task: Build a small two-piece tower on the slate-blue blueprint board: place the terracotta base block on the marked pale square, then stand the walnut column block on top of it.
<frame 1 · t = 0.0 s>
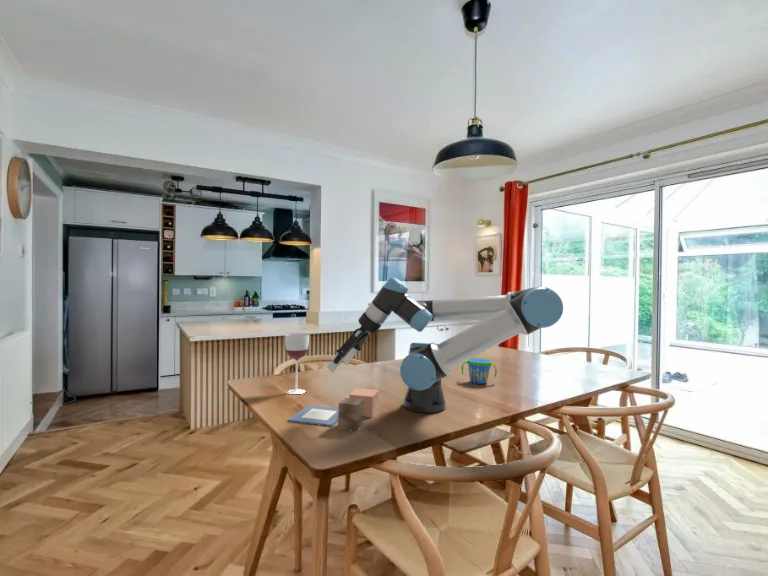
hand: (337, 365, 134), 15 cm above the table, tool tilted 35°, fingers open, 13 cm apart
walnut column: (350, 427, 118), on the table
wineglass: (296, 392, 154), on the table
blueprint board: (319, 416, 127), on the table
terracotta base: (364, 412, 132), on the table
snack cup: (478, 383, 176), on the table
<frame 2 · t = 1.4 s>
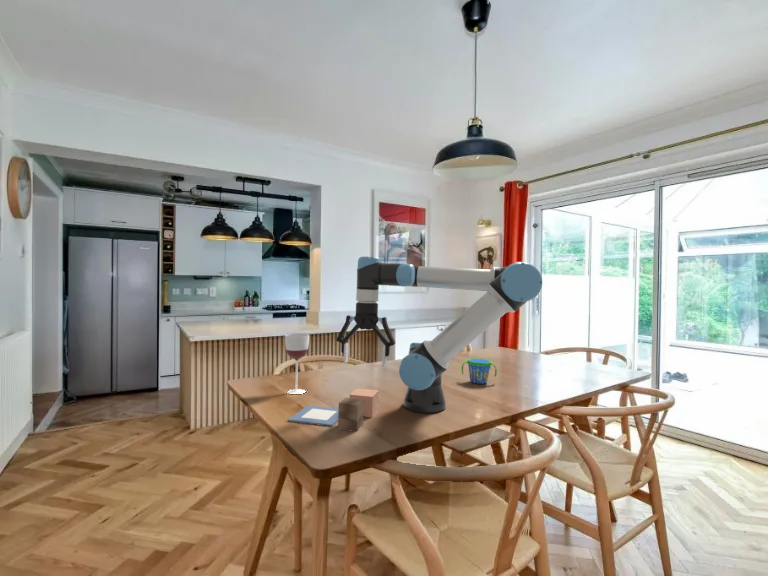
hand: (364, 364, 132), 17 cm above the table, tool pointing down, fingers open, 13 cm apart
nothing on the table moved.
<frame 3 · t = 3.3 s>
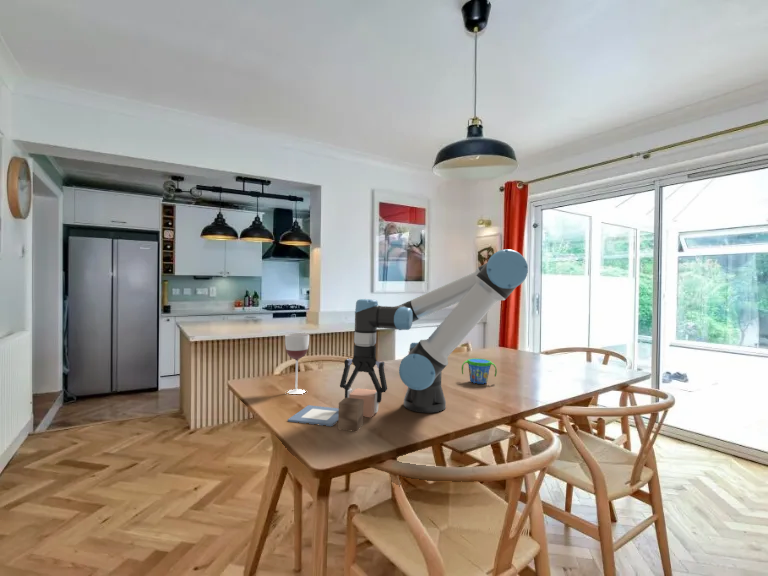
hand: (362, 409, 132), 1 cm above the table, tool pointing down, fingers open, 9 cm apart
nothing on the table moved.
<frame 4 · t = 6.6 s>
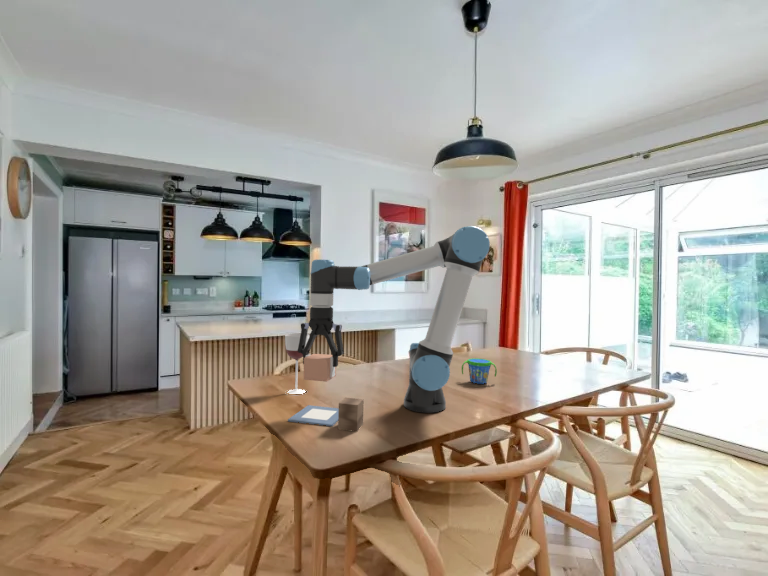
hand: (320, 375, 127), 13 cm above the table, tool pointing down, fingers closed on terracotta base, 8 cm apart
terracotta base: (320, 377, 127), point 13 cm above the table, touching gripper
everything else where it was.
when the fingers open (2 cm above the table, at t = 8.9 s): terracotta base stays where it is, resting on blueprint board.
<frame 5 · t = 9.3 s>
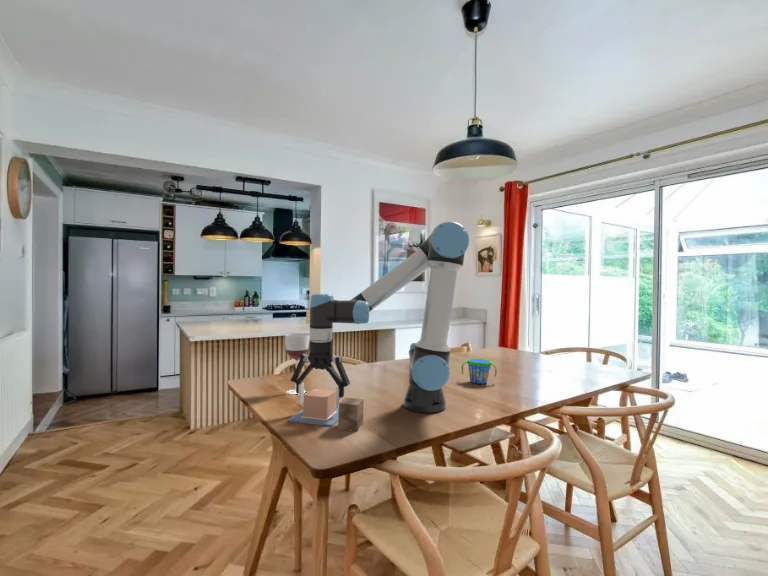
hand: (319, 405, 127), 4 cm above the table, tool pointing down, fingers open, 13 cm apart
terracotta base: (319, 414, 127), point 1 cm above the table, touching blueprint board
everything else where it was.
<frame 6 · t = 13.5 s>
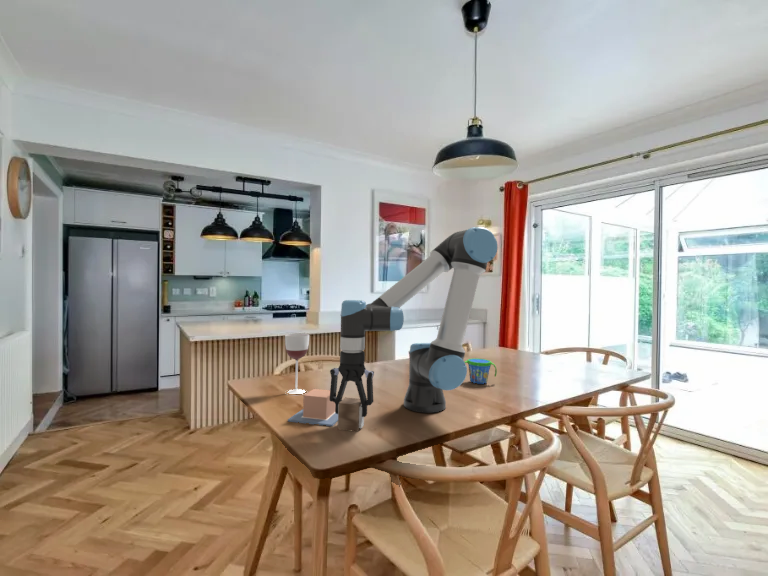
hand: (350, 425, 118), 0 cm above the table, tool pointing down, fingers closed on walnut column, 6 cm apart
walnut column: (350, 426, 118), on the table, touching gripper
everything else where it was.
when the fingers open (10 cm above the table, at t = 18.8 s): walnut column drops 2 cm, resting on terracotta base.
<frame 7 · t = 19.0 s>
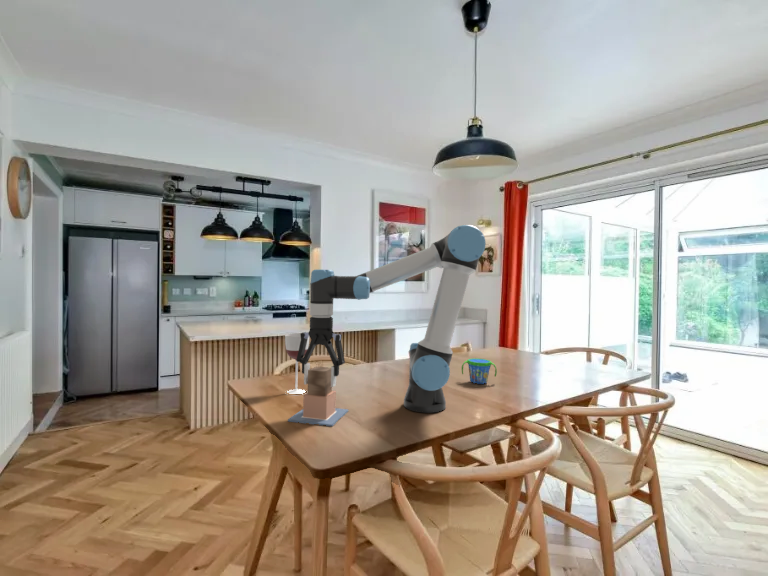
hand: (320, 384, 127), 10 cm above the table, tool pointing down, fingers open, 9 cm apart
walnut column: (319, 393, 127), point 8 cm above the table, touching terracotta base
terracotta base: (319, 414, 127), point 1 cm above the table, touching blueprint board, walnut column
everything else where it was.
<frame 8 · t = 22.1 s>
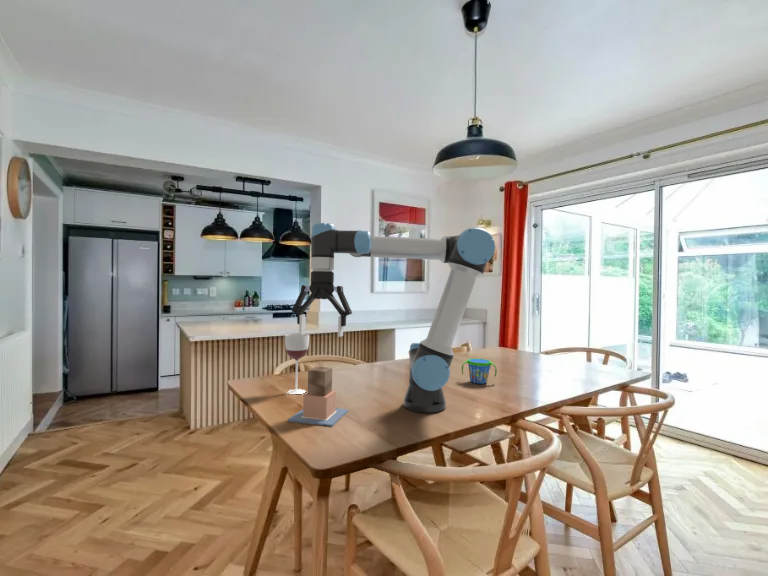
hand: (321, 335, 127), 27 cm above the table, tool pointing down, fingers open, 13 cm apart
nothing on the table moved.
at the end: terracotta base 0.1 cm off-centre on the blueprint board, point 0.6 cm above the blueprint board's base; walnut column 0.1 cm off-centre on the terracotta base, point 7.0 cm above the terracotta base's base; walnut column tilted 0° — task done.
